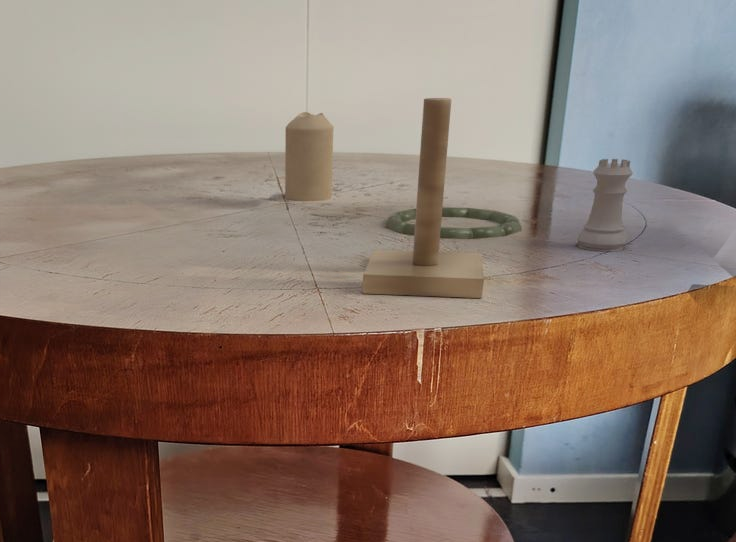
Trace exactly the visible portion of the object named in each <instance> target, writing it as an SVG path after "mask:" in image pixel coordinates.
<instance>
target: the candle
mask: <svg viewBox="0 0 736 542" xmlns="http://www.w3.org/2000/svg"><path fill="white" fill-rule="evenodd" d="M284 148H285V149H284V151H285V152H284V153H285V157H284V158H285V160H284V163H285V165H284V166H285V167H284V168H285V171H284V178H285V179H284V181H285V182H284V193H285V194H284V199H286V200H289V201H294V202H321V201H328V200H330V199H332V193H333V191H332V190H333V189H332V188H333V159H334V156H333V154H334V126H333V124H332V123H331V122H330V121H329V119H327V117H326V116H325V114H324V113H323V112H320V113H318V114H312V113H310V112H308V111H304V112H300V113H298V114H297V116H295V117H294V118H293V119H292V120H291V121H290V122H289V123H288V124H287V125H286V126H285V147H284Z"/></svg>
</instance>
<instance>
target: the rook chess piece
mask: <svg viewBox="0 0 736 542" xmlns="http://www.w3.org/2000/svg"><path fill="white" fill-rule="evenodd" d="M618 162H619V158H611V162H610V163H609V159H608V158H602V159H599V161H598V166H597V167H596V168H595V169H594V170H593V171H592V174H593V175H594V177H595V179H596V185H595V187H594V188H593V189H592V192H593V193H594V196H593V202H592V207H591V210H590V213H589V216H588V219H587V221H586V223H585V224H584V225H583V229H582V230H581V231H580V232H579V233H578V234H577V236H576V240H577V242H578V245H577V247H578V248H580V249H583V250H586V251H593V252H619V251H622V250H624V246H625V245H626V244H627V243H628V235H627V234H626V232H625V226H624V225H623V202H624V196H625V195H626V193H627V192H628V190H627V189H626V183H627V181H628V180H629V179H630V178H631V177H632V175H633V174H634V172H633V171H632V169H631V167H630V165H631V160H628V159H621V161H620V163H618Z"/></svg>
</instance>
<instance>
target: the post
mask: <svg viewBox="0 0 736 542" xmlns="http://www.w3.org/2000/svg"><path fill="white" fill-rule="evenodd" d="M451 109H452V98H448V97H427V98H424V99H423V107H422V121H421V134H420V150H419V164H418V177H417V195H416V206H415V207H416V208H415V209H416V219H414V224H415V234H414V235H413V250H386V249H385V250H384V249H382V250H381V249H374V250H373V251H372V253H371V256H370V258H369V260H368V262H367V265H366V268H365V269H364V272H363V274H362V294H365V295H367V294H369V295H392V296H394V295H395V296H417V297H418V296H419V297H441V298H442V297H444V298H462V299H463V298H464V299H465V298H466V299H482V298H483V292H484V281H485V275H484V264H483V254H482V253H478V252H450V251H449V252H447V251H445V252H444V251H440V243H441V238H440V232H441V227H442V219H443V217H442V208H443V207H444V194H445V193H444V192H445V184H446V183H445V182H446V170H447V158H448V147H449V135H450V134H449V133H450V122H451V120H450V119H451Z"/></svg>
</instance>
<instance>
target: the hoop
mask: <svg viewBox="0 0 736 542" xmlns="http://www.w3.org/2000/svg"><path fill="white" fill-rule="evenodd" d="M442 218H467V219H475V220H483V221H489V222H493V223H496V224H498V225H491V226H479V227H478V226H477V227H447V226H445V227H443V226H441V232H440V239H449V240H451V239H452V240H479V239H491V238H503V237H508V236H510V235H514V234H516V233H517V234H518V233H519V232H522V226H521V221H520V219H519V218H518V217H517V216H516V215H512V214H509V213H505V212H502V211H499V210H491V209H484V208H473V207H456V206H455V207H453V206H451V207H450V206H449V207H448V206H443V208H442ZM413 220H416V208H409V209H405V210H401V211H397V212H393V213H391V214H389V216H388V217H387V220H386V222H385V223H384V224H385V225H384V228H386V229H388V230H390V231H394V232H396V233H399V234H401V235H408V236H414V234H415V223H409V221H413Z"/></svg>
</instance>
